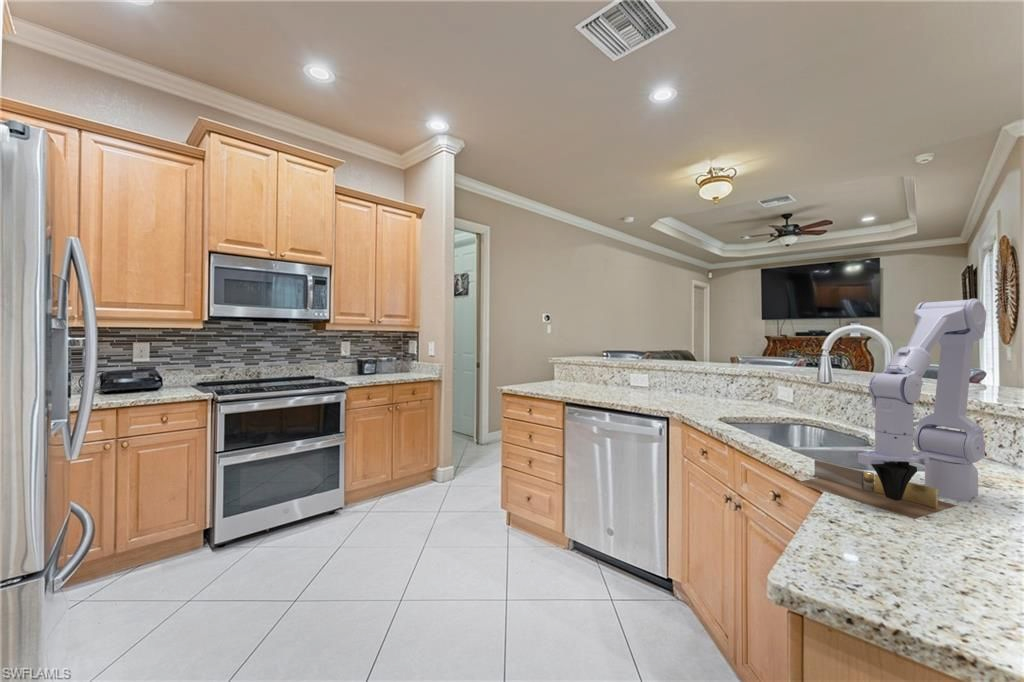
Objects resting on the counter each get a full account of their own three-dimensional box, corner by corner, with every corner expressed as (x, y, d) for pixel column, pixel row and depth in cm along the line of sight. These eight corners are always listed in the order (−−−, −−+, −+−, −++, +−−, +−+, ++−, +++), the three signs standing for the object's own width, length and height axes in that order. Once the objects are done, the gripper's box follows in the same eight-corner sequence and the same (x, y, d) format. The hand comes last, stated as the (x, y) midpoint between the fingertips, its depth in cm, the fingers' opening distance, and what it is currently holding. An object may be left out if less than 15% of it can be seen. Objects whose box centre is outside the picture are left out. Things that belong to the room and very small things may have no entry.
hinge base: (832, 476, 106) (832, 456, 106) (957, 510, 85) (957, 485, 85) (789, 484, 99) (789, 464, 99) (914, 523, 78) (914, 497, 78)
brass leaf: (861, 489, 93) (862, 472, 93) (866, 487, 94) (866, 471, 94) (934, 508, 83) (934, 489, 83) (938, 506, 83) (938, 488, 83)
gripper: (883, 437, 79) (882, 507, 79) (947, 435, 81) (946, 504, 81) (848, 429, 86) (848, 494, 86) (908, 428, 88) (907, 492, 88)
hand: (893, 498), depth 84 cm, fingers closed
